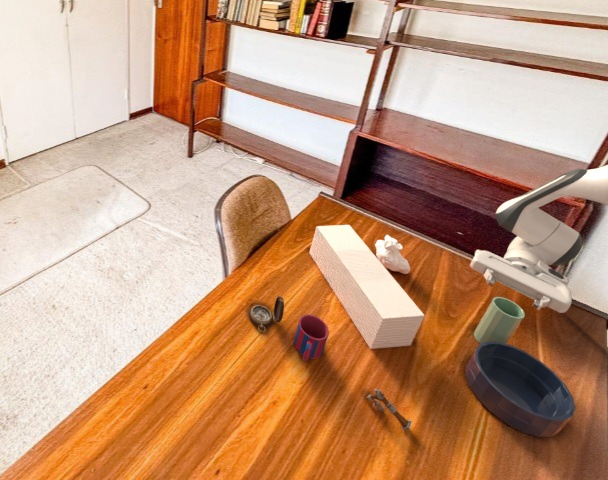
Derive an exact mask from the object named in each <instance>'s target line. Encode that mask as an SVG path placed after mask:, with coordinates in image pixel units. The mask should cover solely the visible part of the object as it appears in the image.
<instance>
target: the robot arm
mask: <svg viewBox="0 0 608 480" xmlns="http://www.w3.org/2000/svg"><path fill="white" fill-rule="evenodd" d="M563 197H572V198H580V199H583V200H588V201H592V202H595V203H599V204H601V205H605V206H608V164H606V165H603V166H601V167H597V168H591V169H584V168H576V169H573V170H569V171H567V172H565V173H563V174H561V175H559V176H556V177H555V178H552V179H550V180H549V181H547V182H544V183H542V184H541V185H538V186H537V187H534V188H533V189H531V190H529V191H526V192H525V193H523V194H521V195H518V196H516V197H513V198H511V199H509V200H507V201H505V202H503V203H501V205H499V207H498V208H497V209H496V211H495V212H494V215H495V219H496V222H497V224H498V226H499V227H501V228H502V229H504V230H506V231H508V233H511V234H513V235H515V236H516V237H514V238H513V239H512V240H511V242H510V243H509V244H508V247H507V250H506V253H505V254H504V255H503V257H502V256H499V255H497V254H495V253H492V252H491V251H488V250H481V249H476V250H475V251H474V257H473V258H472V260H471V261H470V264H469V267H470V268H471V270H473V271H475V272H476V273H479V274H481V275H483V278H484V279H485V281H486V282H485V284H486V285H488V286H490V287H492V288H493V287H494V285H495V283H499V284H501V285H503V286H505V287H507V288H509V289H511V290H512V291H515V292H517V293H519V294H521V295H522V296H525V297H527V298H529V299H531V300H533V302H532V304H531V308H533V309H535V310H537V311H540V310H541V308H549V309H551V310H553V311H555V312H557V313H560V314H564V313H565V314H566V312H567V311H568V310H569V309H570V307H571V305H572V302H573V296H572V290H571V289H570V287H569V286H568V285H569V283H570V279H569V278H568V277H566V276H565V275H564V274H562V273H560V272H558V271H556V270H555V269H553V268H552V267H557V266H562V265H565V264H567V263H569V262H571V261H572V260H574V259H575V258H576V257H577V256H578V255H579V253H580V252H581V250H582V247H583V237H582V234H581V233H580V232H578V231H577V230H575V229H574V228H572V227H570V226H569V225H567V224H566V223H564V222H562V221H561V220H559V219H557V218H555V217H553V216H552V215H550V214H549V213H547V212H545V211H544V210H542V209H540V207H542V206H545V205H547V204H549V203H551V202H553V201H556V200H558V199H560V198H563ZM551 266H552V267H551Z"/></svg>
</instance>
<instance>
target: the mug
mask: <svg viewBox="0 0 608 480" xmlns="http://www.w3.org/2000/svg"><path fill="white" fill-rule="evenodd" d="M329 335H330V330H329V327H328V324H327V323H326V322H325V321H324V320H323V319H321V318H320V317H318V316H316V315H313V314H304V315H302V316H301V317H299V320H298V323H297V326H296V330H295V333H294V337H293V346H294V348H295V349H296V351H298V352H299V354H300V355H301V356H302V360H303V361H305V362H308V361H309V359H312V360H316V359H318V358H321V356H322V355H323V352H324V350H325V346H326V343H327V340H328V337H329Z"/></svg>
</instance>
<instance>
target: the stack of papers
mask: <svg viewBox="0 0 608 480" xmlns="http://www.w3.org/2000/svg"><path fill="white" fill-rule="evenodd" d="M309 255H310V256H311V258H312V260H313V261H314V263H315V264H316V266H317V268H318V269H319V270H320V272H321V274H322V275H323V277H324V278H325V280H326V282H327V283H328V285H329V286H330V288H331V290H332V291H333V293H334V294H335V296H336V298H337V299H338V301H339V302H340V304H341V305H342V307H343V309H344V310H345V311H346V313H347V314H348V316H349V318H350V320H351V321H352V323H353V324H354V326H355V327H356V329H357V330H358V331H359V334H360V335H361V337H362V338H363V340H364V342H365V343H366V345H367V346H368V348H369V350H376V349H385V348H386V349H387V348H397V347H410V346H412V343H413V341H414V339H415V338H416V335H417V333H418V331H419V329H420V327H421V325H422V323H423V321H424V319H425V317H426V315H425V314H424V313H423V311H422V310H421V309H420V308H419V307H418V305H416V303H415V301H413V299H412V298H411V297H410V296H409V294H408V293H407V292H406V291H405V289H403V287H402V286H401V285H400V284H399V282H398V281H397V280H396V279H395V278H394V277H393V276H392V274H391V273H390V272H389V270H388V269H387V268H385V267H384V266H383V265H382V264H381V262H380V261H379V260H378V258H377V256H376V254H374V253H373V251H372V250H371V249H370V247H368V245H367V244H366V243H365V242H364V241H363V239H362V238H361V237H360V236H359V235H358V233H357V232H356V231H355V230H354V228H352V226H351V225H350V224H335V225H334V224H333V225H317V226H315V231H314V234H313V237H312V241H311V245H310V249H309Z"/></svg>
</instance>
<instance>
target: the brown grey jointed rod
mask: <svg viewBox="0 0 608 480" xmlns="http://www.w3.org/2000/svg"><path fill="white" fill-rule="evenodd" d="M373 392H375V393H373V394H372V393H371V394H368V395H366V398H365V399H366V400H367V401H373V404H374V407H376V408H377V409H378V411H381V412H382V413H383V412H384V411H385V409H384V407H385V408H386V409H387V410H388V411H389V412H390V413H391V415H393V416H394V417H395V419H396V420H397V421H398V422H399V424H400V425H401V430H402V431H406V430H410V428H411V426H412V423H413V421H411V419H407V418H406V417H404V416H403V415H402V414H401V413H400V412H399V411H398V410H397V408H396V407H395V406H394V405H393V404H392V403H391V401H389V400H388V399H387V398H386V397H385V394H384V392H382V391H381V390H380V389H377V388H374V389H373ZM381 402H382V403H383V404H384V405H383V404H381Z"/></svg>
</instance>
